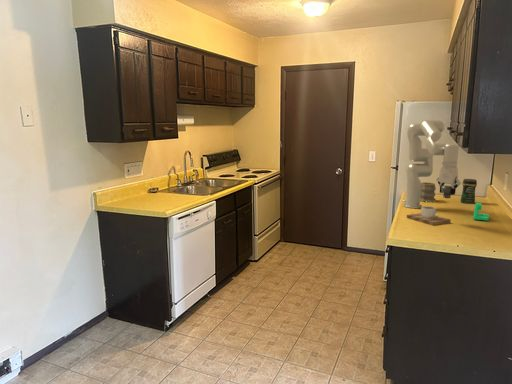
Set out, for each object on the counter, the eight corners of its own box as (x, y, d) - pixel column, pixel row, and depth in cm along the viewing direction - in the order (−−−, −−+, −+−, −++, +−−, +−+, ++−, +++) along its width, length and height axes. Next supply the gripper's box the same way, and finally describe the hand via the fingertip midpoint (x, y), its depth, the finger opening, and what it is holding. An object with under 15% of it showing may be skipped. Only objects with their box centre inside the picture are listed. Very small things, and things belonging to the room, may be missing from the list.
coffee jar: (461, 203, 281) (463, 179, 278) (459, 201, 288) (462, 177, 285) (475, 204, 277) (478, 180, 274) (474, 202, 284) (476, 178, 281)
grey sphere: (437, 197, 227) (438, 185, 226) (445, 196, 230) (446, 185, 229) (447, 199, 221) (449, 187, 219) (455, 198, 224) (457, 186, 222)
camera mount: (487, 222, 226) (489, 205, 224) (473, 220, 230) (474, 204, 228) (488, 218, 235) (490, 202, 233) (475, 216, 240) (476, 201, 238)
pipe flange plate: (406, 217, 236) (407, 205, 235) (423, 215, 242) (424, 203, 240) (432, 225, 218) (433, 212, 217) (450, 222, 224) (451, 210, 222)
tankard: (434, 199, 295) (436, 181, 292) (435, 202, 283) (437, 183, 280) (407, 198, 302) (409, 180, 299) (407, 200, 291) (409, 182, 288)
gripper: (433, 163, 228) (430, 191, 231) (458, 166, 212) (455, 196, 216) (441, 163, 231) (439, 190, 234) (467, 165, 215) (464, 195, 219)
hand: (447, 193), depth 225 cm, fingers closed on grey sphere, 7 cm apart
